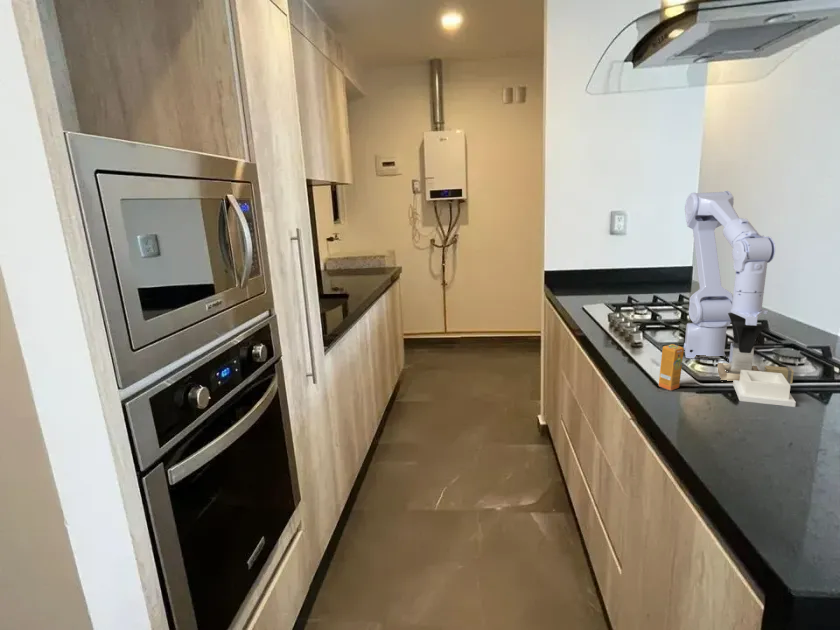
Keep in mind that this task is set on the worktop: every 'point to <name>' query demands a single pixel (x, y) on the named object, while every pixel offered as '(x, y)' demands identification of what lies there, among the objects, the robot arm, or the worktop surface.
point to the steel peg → (739, 360)
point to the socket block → (729, 376)
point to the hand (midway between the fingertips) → (742, 347)
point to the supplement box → (671, 367)
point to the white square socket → (763, 388)
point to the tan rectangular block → (785, 371)
